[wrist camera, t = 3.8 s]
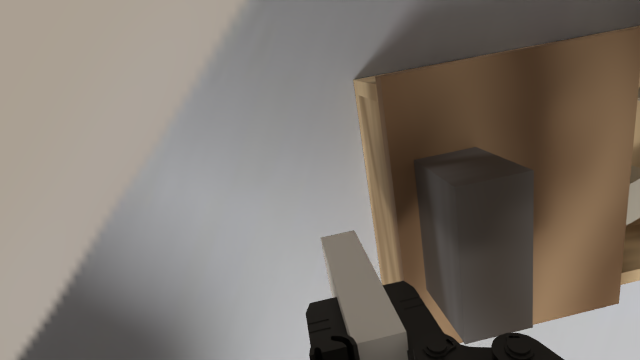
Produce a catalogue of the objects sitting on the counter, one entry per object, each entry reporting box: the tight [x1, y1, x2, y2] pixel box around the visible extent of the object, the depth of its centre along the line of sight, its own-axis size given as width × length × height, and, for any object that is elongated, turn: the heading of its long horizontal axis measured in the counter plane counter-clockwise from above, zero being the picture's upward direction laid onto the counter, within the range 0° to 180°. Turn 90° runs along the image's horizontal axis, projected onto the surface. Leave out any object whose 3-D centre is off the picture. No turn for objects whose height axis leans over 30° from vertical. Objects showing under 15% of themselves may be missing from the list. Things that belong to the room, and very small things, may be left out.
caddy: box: [353, 26, 640, 285], centre depth 23 cm, size 24×14×5 cm, turn 100°
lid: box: [375, 27, 640, 344], centre depth 17 cm, size 12×15×5 cm
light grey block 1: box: [626, 165, 640, 225], centre depth 24 cm, size 3×3×2 cm
